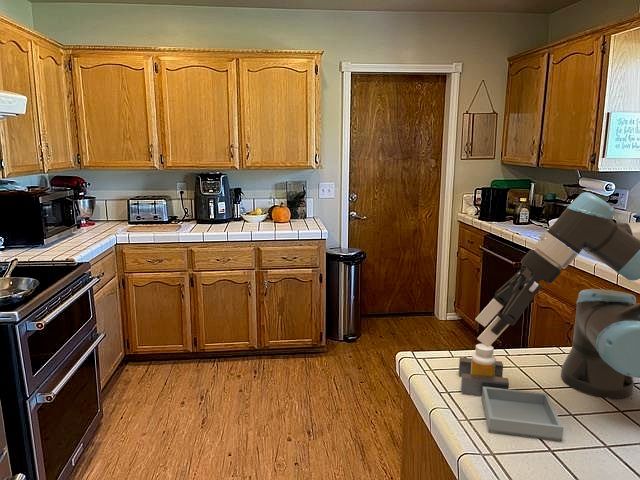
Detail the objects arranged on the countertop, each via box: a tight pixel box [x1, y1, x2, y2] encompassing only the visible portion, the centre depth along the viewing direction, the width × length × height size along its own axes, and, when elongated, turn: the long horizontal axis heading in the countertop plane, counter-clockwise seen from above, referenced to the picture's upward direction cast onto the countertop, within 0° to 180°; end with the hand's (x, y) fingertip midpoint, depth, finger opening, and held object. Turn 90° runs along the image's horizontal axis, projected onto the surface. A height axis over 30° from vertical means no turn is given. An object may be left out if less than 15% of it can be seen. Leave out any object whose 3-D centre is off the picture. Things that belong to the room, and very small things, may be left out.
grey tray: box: [481, 387, 564, 443], centre depth 100 cm, size 13×13×3 cm
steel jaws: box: [458, 356, 510, 397], centre depth 114 cm, size 10×11×4 cm
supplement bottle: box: [471, 343, 497, 377], centre depth 114 cm, size 5×5×10 cm
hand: (481, 332), depth 107 cm, fingers open, 13 cm apart
